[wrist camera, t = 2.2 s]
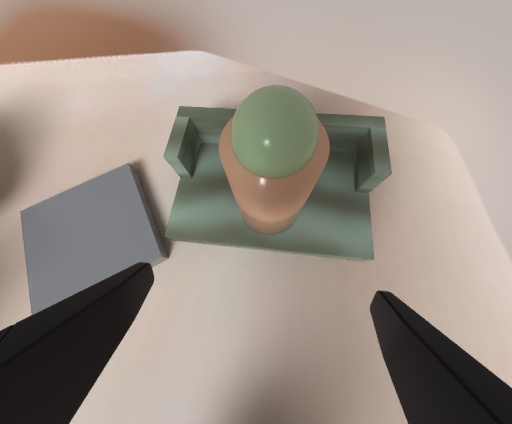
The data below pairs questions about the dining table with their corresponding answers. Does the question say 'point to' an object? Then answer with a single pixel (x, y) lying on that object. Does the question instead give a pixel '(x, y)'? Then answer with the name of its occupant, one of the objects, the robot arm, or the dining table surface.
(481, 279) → the dining table surface
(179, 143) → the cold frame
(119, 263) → the slate pad
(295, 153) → the green ice cream cone
